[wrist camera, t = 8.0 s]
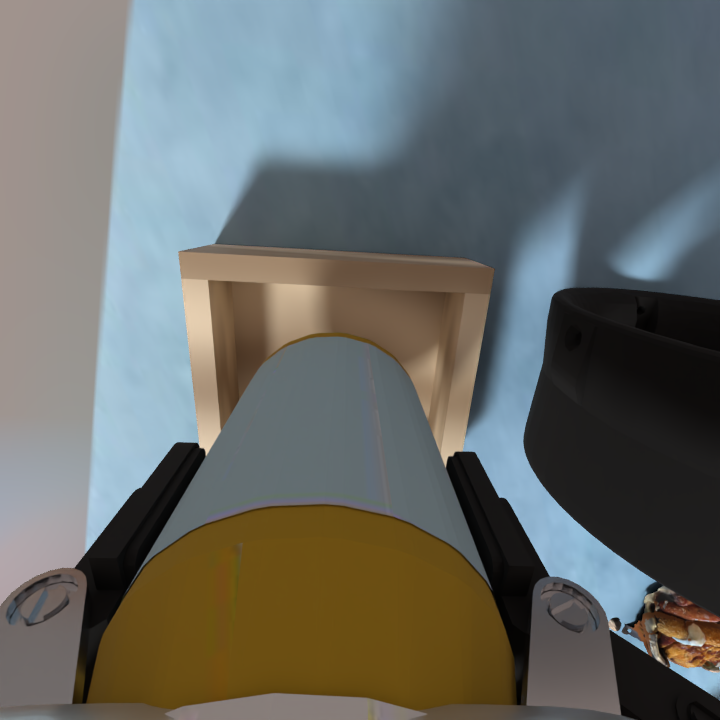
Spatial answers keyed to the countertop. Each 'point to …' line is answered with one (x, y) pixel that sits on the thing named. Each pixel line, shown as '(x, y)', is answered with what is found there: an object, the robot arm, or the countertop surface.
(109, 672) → the bottle
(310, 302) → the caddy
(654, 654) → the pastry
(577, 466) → the black ducted fan housing
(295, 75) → the countertop surface
